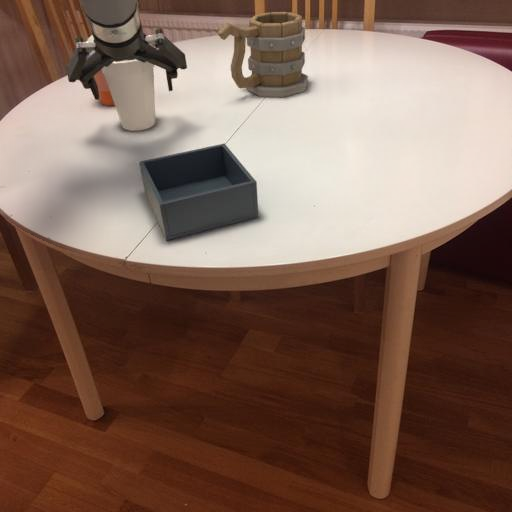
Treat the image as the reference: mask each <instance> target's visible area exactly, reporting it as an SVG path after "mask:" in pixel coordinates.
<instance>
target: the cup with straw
mask: <svg viewBox="0 0 512 512" xmlns="http://www.w3.org/2000/svg"><path fill="white" fill-rule="evenodd" d="M93 41H94V38H93V35H92V34H91V35H90V36H89V37H88V38H87V40H86V41H85V42H93ZM94 52H95V50H94V51H91V53H90V54H89V57H90V56H91V55H92V54H93V53H94ZM89 57H88V58H89ZM88 58H86V60H87V59H88ZM94 78H95V81H96V83H97V86H98V92H99V99H100V100H99V101H100V103H101V104H102V105H105V106H115V104H114V101H113V98H112V95H111V93H110V90H109V87H108V84H107V81H106V79H105V76H104V74H103V73H102V69H101V70H100V71H99V72H98V73H97V74H95V75H94Z"/></svg>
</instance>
